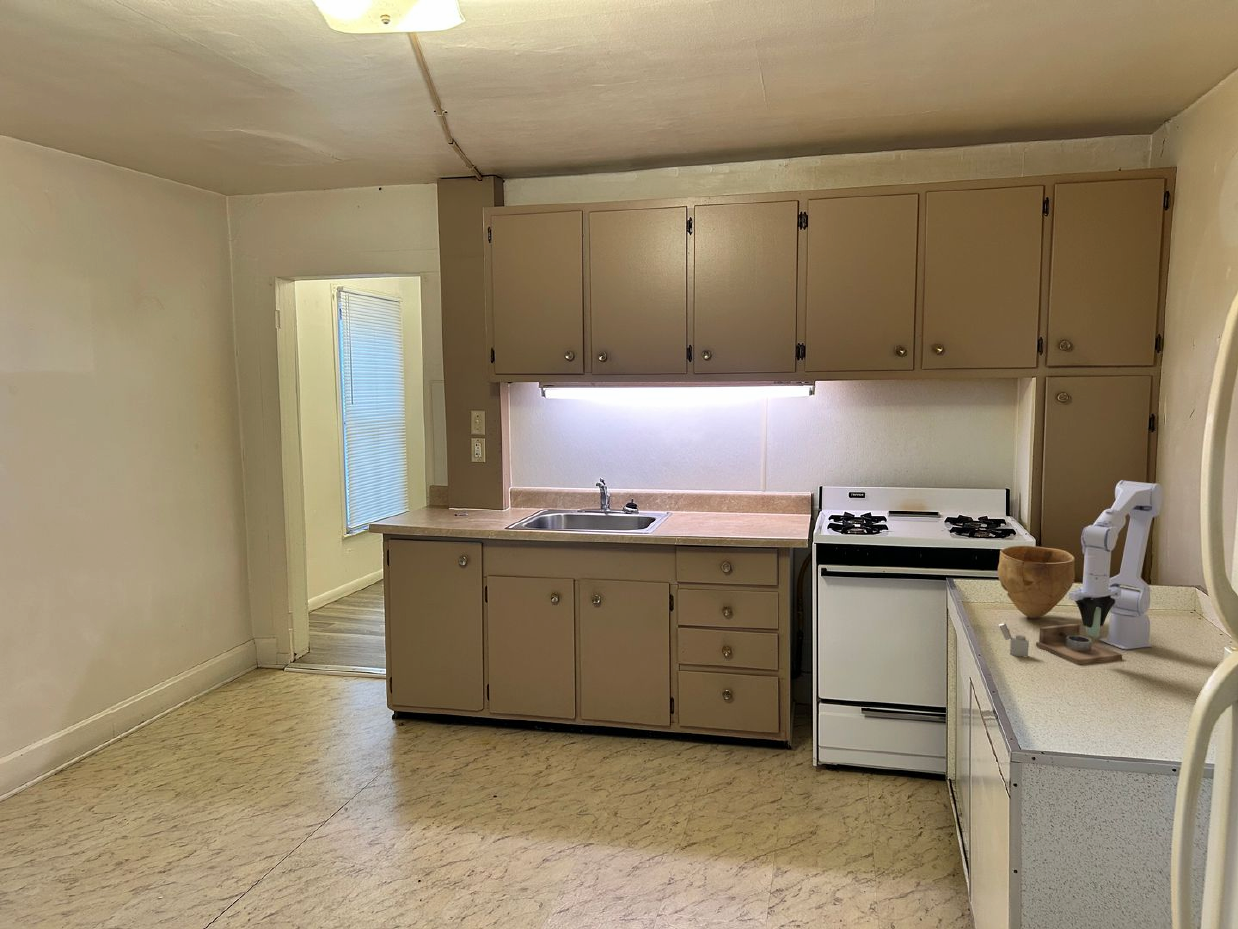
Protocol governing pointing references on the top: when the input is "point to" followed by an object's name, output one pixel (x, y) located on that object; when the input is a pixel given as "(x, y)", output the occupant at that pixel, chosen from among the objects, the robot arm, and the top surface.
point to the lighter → (1015, 642)
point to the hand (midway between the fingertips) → (1093, 625)
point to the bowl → (1035, 577)
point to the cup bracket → (1073, 645)
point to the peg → (1095, 624)
